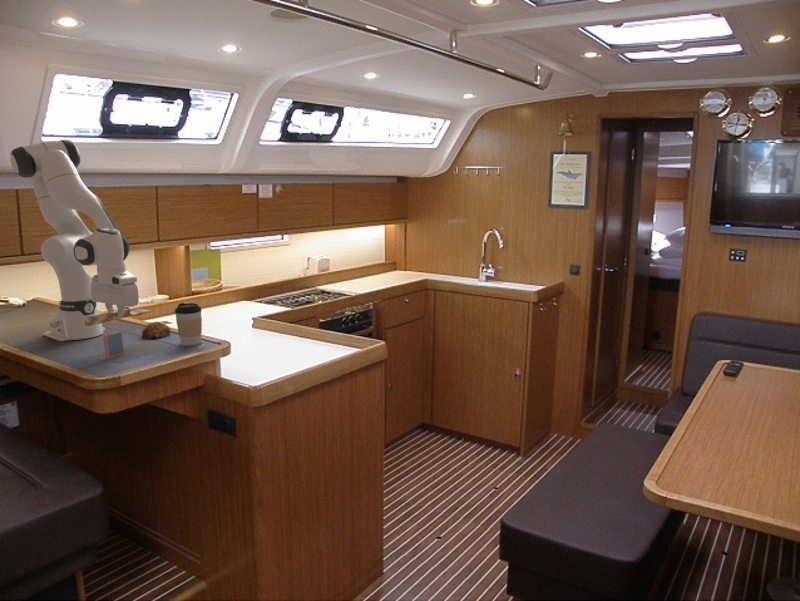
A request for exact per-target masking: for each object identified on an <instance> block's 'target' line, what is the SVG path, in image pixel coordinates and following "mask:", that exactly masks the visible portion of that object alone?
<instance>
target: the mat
mask: <svg viewBox="0 0 800 601" xmlns="http://www.w3.org/2000/svg"><path fill="white" fill-rule="evenodd" d="M123 346H124V355H121V356H118V357H115V358H111V359H106V358H105V351H104V352H101V353H95V354H93V355H91V356H90V355H89V356H88V359H89V358H90V359H95V360H99V361H105V362H109V363H115V364H118V365H119V364H122V363H126V362H128V361H132V360H135V359H140V358H142V357H145V356H148V355H151V354H155V353H157V352H161V351H164V350H168V349H170V348H172V347H176V346H177V345H175V344H170V343H164V342H156V341H150V340H147V339H145V340H140V341H138V342H134V343H132V344H131V343H129V344H128V345H127V344H126V345H123Z"/></svg>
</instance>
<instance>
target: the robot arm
mask: <svg viewBox="0 0 800 601" xmlns="http://www.w3.org/2000/svg"><path fill="white" fill-rule="evenodd" d="M9 156H10V158H9V159H10V165H11V167H12V169H13V171H14V172H15V173H16V174H17V175H18V176H20V177H22V178H31V180H32V181H31V182H32V186H33V191H34V194H35V197H36V200H37V204H38V206H39V210H40V212H41V214H42V217H43V220H44V221H45V222H46V223H47V224H48V225H50V226H51V227H52V228H53V229H54V230H55V231H56V233H57V234H56V235H53V236H51V237H49V238H47V239H45V240H44V241H43V242H42V244H41V247H40V254H41V256H42V259H43V260H44V261H45V262H46V263H48V264H49V265H50V266H51V267H52V268H53V270H54V273H55V274H56V277H57V280H58V284H59V289H60V290H59V291H60V296H61V297H60V298H61V299H60V300H59V301H58V305H59V311H57V313H56V314H55V315H54V316H53V317H52V318H51V319H50V321H49V326H50V330H47V331H46V332H44V333H43V335H44V336H45V337H48V338H50V339H53V340H56V341H58V342H64V341H75V340H77V341H78V340H85V339H91V338H95V337H99V336H101V335H104V331H105V330H106V327H105V326H103V323H100V324H96V325H92V326H86V325H85V321H84V318H87V317H91V316H96V315H100V314H101V313H100V311H99V309H98V308H97V303H99V304H100V303H101V304H104V306H105V309H106V310H107V313H109V312H113V311H115V310H114V307H113V306H114V305H115V306H116V308H117V310H116V311H117V312H115V314H116V317H118V318H120V319H122V318H121V317H123V310H124V309H126V308H125V307H128V308H129V307H130V308H131V307H135V306H138V304H139V302H140V301H139V300H140V298H139V297H140V296H139V289H138V286H137V282H138V278H137V275H134V274H133V273H131V272H130V271H128V270H127V269H126V268H127V267H126V264H125V261H126V259H127V258H128V256H129V254H130V244H129V242H128V240H127V238H126V237H125V236H124V235H123V234H122V233H121V231H120V230H119V228H118V227H117V225H116V224H115V222H114V220H113V219H112V217H111V215H110V214H109V212H108V210H107V209H106V207H105V205H104V204H103V202H102V201H101V200H100V198H99V197H98V196H97V195H96V194H95V193H93V192H92V191H91V190H90V189H89V188H88V187H87V186H86V185H85V184H84V182H83V181H82V178H81V176H80V174H79V172H78V170H77V168H78V167H79V165H80V164H81V153H80V150H79V149H78V146H77V145H76V144H75V142H73V141H72V140H69V139H60V140H49V141H41V142H37V143H34V144H28V145H25V146H22V145H21V146H19V147H15V148H14V149H12V150H11V151H10V155H9ZM77 211H78V212H80V213H83V214H85V215H87V216H88V217H89V218H90V219H91V220H92V222H93V223H94V225H95V226H96V229H95V230H94V232H92V231H91V230H90V229H89V228H88V227H87V226H86V224H85V223H84V221H83V220H82V218H81V217H80V214H79V213H78V212H77ZM84 266H89V267H91V266H96V274H94V275H93V276H91V275H90V274H89V273H87V271H86V270H85V268H84Z"/></svg>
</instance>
